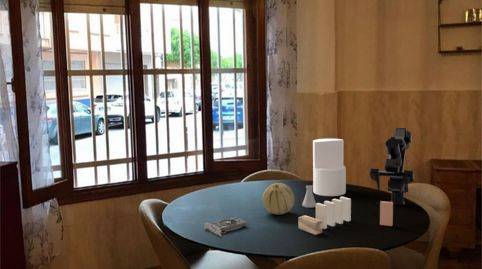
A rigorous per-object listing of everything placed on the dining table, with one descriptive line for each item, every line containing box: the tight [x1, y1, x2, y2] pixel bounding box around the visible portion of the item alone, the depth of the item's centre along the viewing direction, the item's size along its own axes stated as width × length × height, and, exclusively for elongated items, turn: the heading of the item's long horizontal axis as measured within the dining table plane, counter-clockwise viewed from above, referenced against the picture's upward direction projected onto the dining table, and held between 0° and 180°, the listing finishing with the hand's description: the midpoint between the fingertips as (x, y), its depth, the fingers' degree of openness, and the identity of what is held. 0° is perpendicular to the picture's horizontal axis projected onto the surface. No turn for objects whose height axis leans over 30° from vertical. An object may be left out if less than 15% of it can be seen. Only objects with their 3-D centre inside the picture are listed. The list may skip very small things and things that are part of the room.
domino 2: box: [323, 200, 336, 227], centre depth 207 cm, size 2×5×10 cm, turn 37°
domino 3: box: [331, 198, 344, 225], centre depth 210 cm, size 2×5×10 cm, turn 36°
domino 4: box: [339, 196, 352, 222], centre depth 213 cm, size 2×5×10 cm, turn 36°
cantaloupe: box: [262, 182, 295, 216], centre depth 224 cm, size 15×15×15 cm
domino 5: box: [379, 200, 394, 227], centre depth 205 cm, size 2×5×10 cm, turn 64°
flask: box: [301, 185, 316, 209], centre depth 236 cm, size 7×7×10 cm
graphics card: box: [204, 216, 248, 237], centre depth 206 cm, size 17×4×12 cm
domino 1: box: [315, 202, 328, 230], centre depth 204 cm, size 2×5×10 cm, turn 36°
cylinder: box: [312, 138, 347, 197], centre depth 259 cm, size 17×17×28 cm
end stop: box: [297, 215, 323, 236], centre depth 201 cm, size 4×10×5 cm, turn 36°
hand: (389, 191), depth 210 cm, fingers open, 9 cm apart
